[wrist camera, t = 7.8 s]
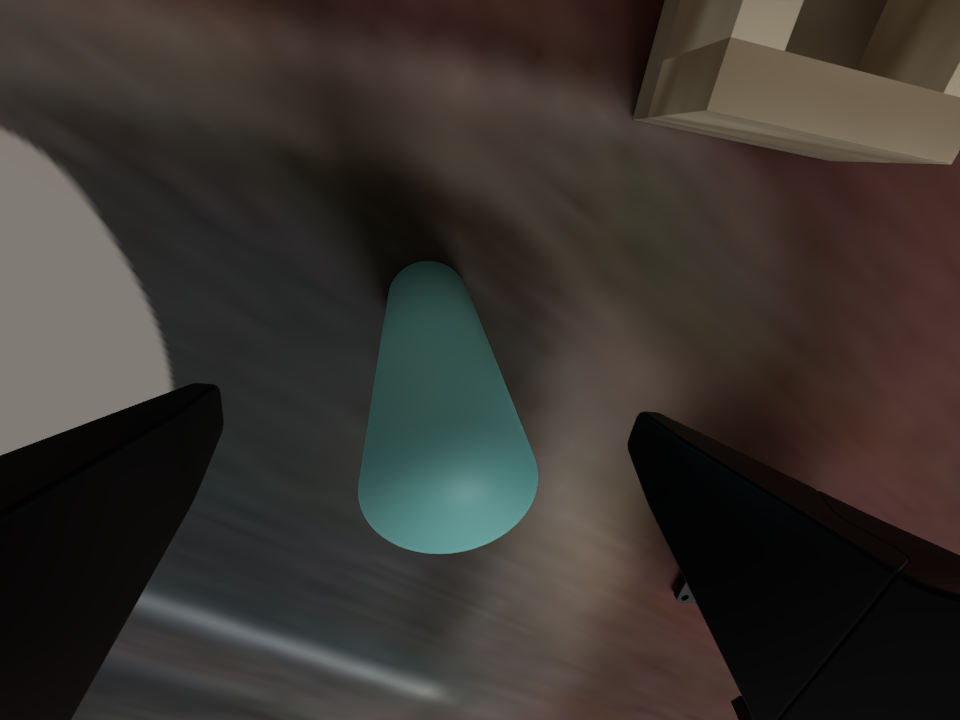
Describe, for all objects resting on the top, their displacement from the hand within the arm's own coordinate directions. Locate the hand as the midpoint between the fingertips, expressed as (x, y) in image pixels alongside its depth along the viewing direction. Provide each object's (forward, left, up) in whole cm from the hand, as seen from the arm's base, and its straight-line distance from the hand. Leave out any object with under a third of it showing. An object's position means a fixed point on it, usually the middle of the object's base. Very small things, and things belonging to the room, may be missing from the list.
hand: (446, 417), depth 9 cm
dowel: (0, 0, -8) cm, 8 cm away
